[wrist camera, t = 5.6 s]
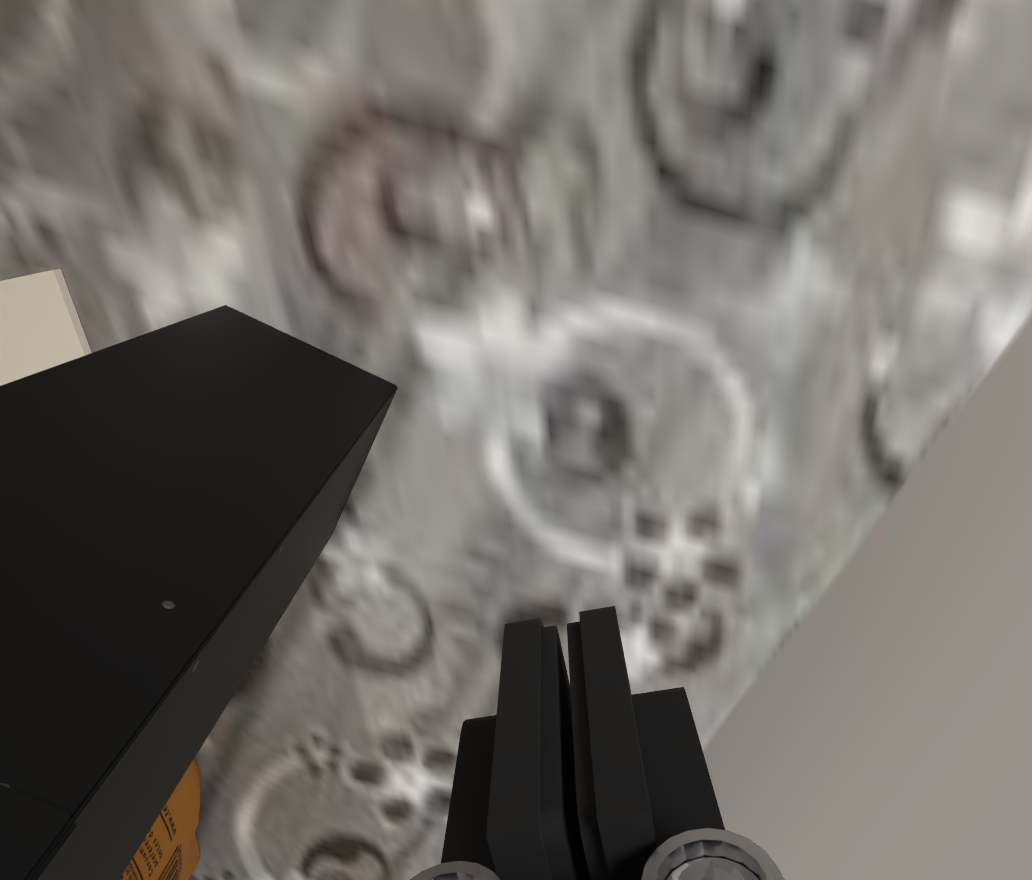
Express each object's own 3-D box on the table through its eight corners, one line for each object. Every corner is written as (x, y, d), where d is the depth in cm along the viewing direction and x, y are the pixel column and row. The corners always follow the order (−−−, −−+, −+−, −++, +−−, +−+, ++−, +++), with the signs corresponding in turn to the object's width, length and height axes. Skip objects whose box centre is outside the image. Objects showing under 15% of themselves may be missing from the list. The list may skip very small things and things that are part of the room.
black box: (332, 536, 34) (-416, 1763, 7) (166, 463, 33) (-1340, 1548, 7) (401, 383, 32) (-331, 1373, 5) (224, 300, 31) (-1734, 972, 4)
